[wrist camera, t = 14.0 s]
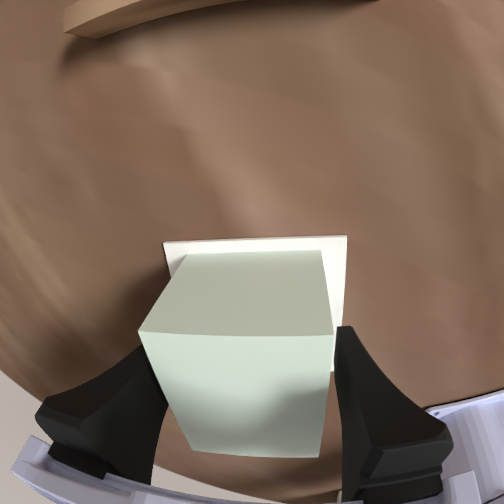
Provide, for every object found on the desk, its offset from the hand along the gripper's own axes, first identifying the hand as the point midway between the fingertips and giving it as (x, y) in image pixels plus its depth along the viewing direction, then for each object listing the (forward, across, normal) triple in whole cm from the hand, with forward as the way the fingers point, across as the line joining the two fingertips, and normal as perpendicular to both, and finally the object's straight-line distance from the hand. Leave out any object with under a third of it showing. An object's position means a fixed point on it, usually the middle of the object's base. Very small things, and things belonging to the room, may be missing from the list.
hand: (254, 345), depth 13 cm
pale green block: (+2, 0, 0) cm, 2 cm away
